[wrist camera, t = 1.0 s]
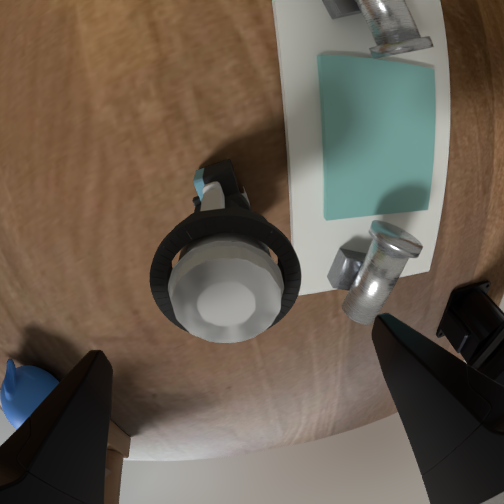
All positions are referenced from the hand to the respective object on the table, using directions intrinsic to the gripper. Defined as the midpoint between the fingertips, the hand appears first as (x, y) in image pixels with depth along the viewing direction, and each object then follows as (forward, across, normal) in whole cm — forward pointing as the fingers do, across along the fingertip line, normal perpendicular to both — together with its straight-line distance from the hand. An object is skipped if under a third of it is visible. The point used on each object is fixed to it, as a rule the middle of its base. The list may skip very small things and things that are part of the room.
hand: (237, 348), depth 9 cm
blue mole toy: (+11, +26, +16) cm, 33 cm away
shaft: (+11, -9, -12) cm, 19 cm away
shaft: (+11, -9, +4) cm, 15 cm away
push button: (+11, 0, 0) cm, 11 cm away
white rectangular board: (+11, -10, -4) cm, 16 cm away
